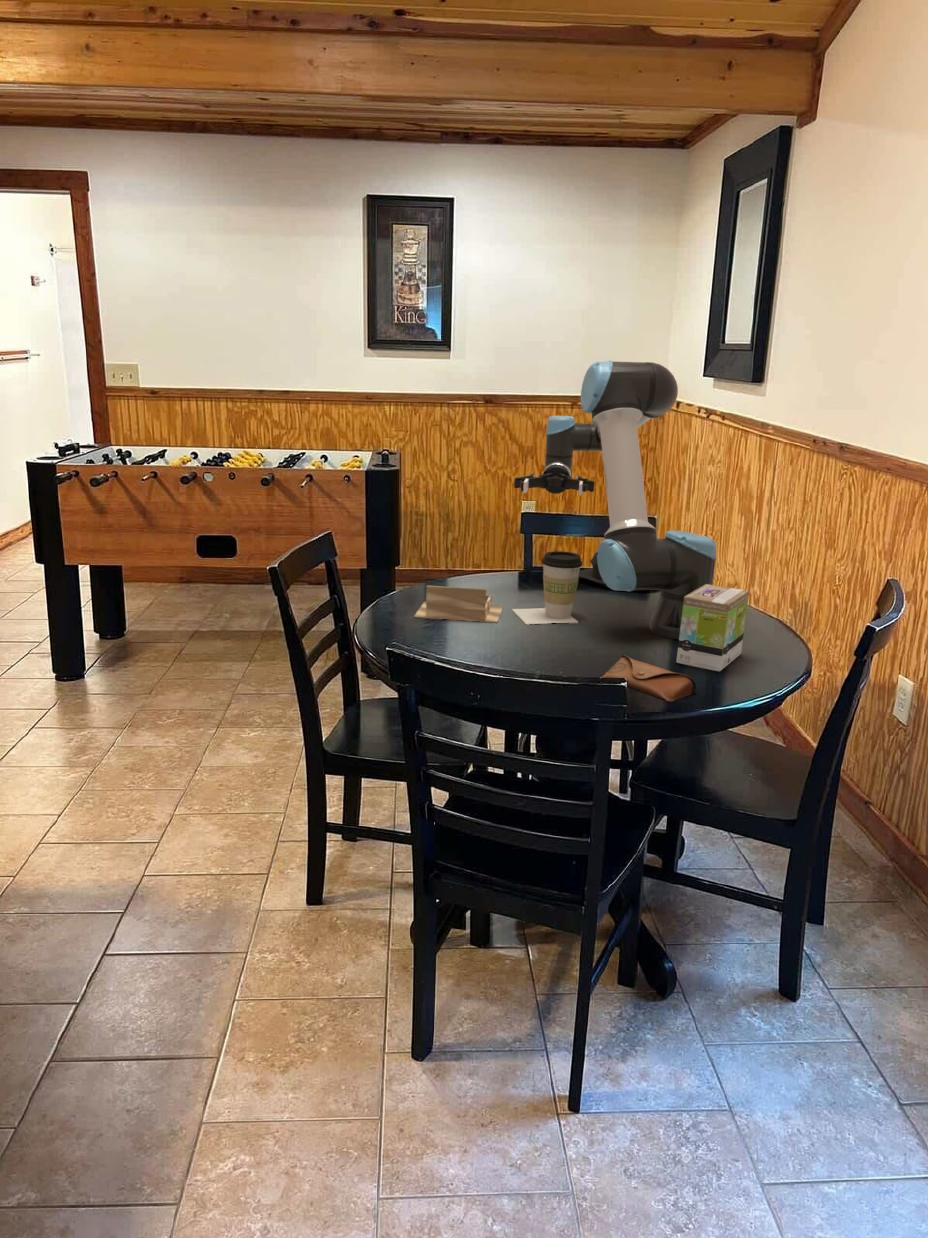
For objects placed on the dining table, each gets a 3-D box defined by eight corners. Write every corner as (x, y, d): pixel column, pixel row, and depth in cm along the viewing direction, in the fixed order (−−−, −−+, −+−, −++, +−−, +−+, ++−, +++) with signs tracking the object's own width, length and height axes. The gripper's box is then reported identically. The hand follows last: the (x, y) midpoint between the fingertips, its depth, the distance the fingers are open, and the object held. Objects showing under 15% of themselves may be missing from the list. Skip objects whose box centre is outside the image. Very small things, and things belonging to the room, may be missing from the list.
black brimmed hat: (672, 584, 262) (675, 555, 260) (649, 598, 247) (651, 567, 244) (591, 572, 274) (593, 544, 272) (564, 584, 259) (566, 554, 257)
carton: (426, 599, 238) (426, 569, 236) (504, 604, 236) (505, 574, 234) (413, 617, 222) (414, 585, 220) (497, 623, 219) (498, 590, 217)
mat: (578, 623, 221) (578, 621, 221) (525, 625, 218) (526, 623, 218) (561, 608, 233) (561, 607, 233) (511, 610, 231) (511, 609, 231)
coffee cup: (553, 623, 220) (557, 561, 215) (530, 611, 228) (534, 552, 223) (586, 618, 225) (591, 558, 220) (562, 607, 233) (567, 549, 228)
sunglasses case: (595, 677, 184) (608, 646, 185) (612, 687, 189) (625, 657, 190) (671, 703, 171) (684, 670, 172) (687, 713, 176) (700, 681, 177)
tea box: (722, 673, 189) (730, 603, 185) (674, 663, 194) (681, 595, 190) (742, 654, 201) (750, 588, 197) (697, 646, 206) (704, 581, 202)
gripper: (602, 494, 247) (602, 506, 226) (509, 489, 250) (501, 501, 229) (604, 465, 244) (604, 475, 224) (510, 461, 248) (502, 471, 227)
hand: (552, 488), depth 227 cm, fingers open, 13 cm apart
